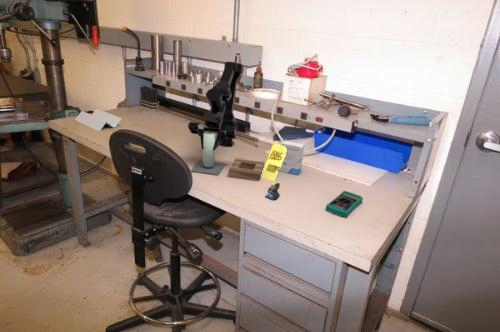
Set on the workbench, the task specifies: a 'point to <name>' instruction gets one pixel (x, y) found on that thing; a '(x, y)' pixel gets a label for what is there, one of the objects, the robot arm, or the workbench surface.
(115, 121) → the z bracket
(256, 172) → the socket block
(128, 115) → the workbench surface
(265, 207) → the workbench surface
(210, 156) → the pin
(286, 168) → the ink box
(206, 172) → the mat
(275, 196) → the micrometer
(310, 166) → the workbench surface
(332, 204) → the digital multimeter
